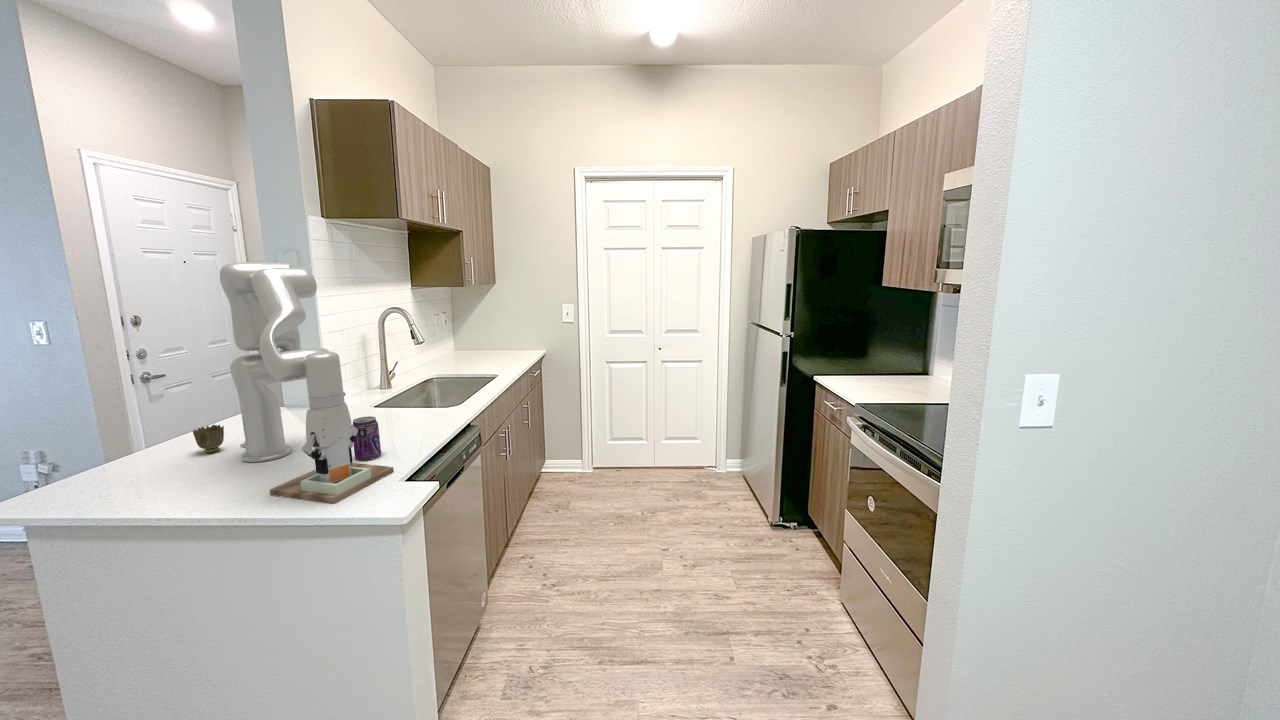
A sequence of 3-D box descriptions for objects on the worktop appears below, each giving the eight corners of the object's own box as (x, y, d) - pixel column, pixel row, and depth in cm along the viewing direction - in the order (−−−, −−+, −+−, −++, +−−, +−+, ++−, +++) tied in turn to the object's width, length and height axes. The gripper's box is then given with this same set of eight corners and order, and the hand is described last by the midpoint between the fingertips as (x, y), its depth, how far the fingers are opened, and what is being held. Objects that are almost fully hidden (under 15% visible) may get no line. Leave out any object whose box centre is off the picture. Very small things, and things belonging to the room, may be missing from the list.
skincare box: (328, 485, 126) (322, 439, 124) (319, 481, 128) (314, 436, 126) (352, 476, 131) (347, 433, 129) (344, 473, 133) (339, 430, 131)
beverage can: (370, 462, 148) (365, 423, 146) (349, 460, 150) (345, 422, 147) (386, 453, 155) (382, 416, 153) (366, 452, 156) (362, 415, 154)
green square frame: (301, 490, 126) (300, 481, 125) (337, 473, 136) (336, 464, 136) (337, 495, 123) (335, 485, 122) (371, 477, 133) (370, 468, 133)
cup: (191, 454, 156) (187, 430, 154) (218, 446, 162) (214, 423, 161) (205, 457, 153) (201, 432, 151) (232, 449, 160) (228, 425, 158)
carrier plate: (270, 495, 127) (269, 489, 126) (335, 465, 146) (335, 460, 145) (334, 503, 122) (333, 498, 121) (393, 472, 141) (393, 467, 140)
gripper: (343, 391, 135) (350, 454, 138) (283, 409, 118) (292, 479, 121) (366, 393, 133) (372, 457, 136) (308, 411, 116) (317, 483, 120)
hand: (335, 467), depth 129 cm, fingers closed on skincare box, 6 cm apart
